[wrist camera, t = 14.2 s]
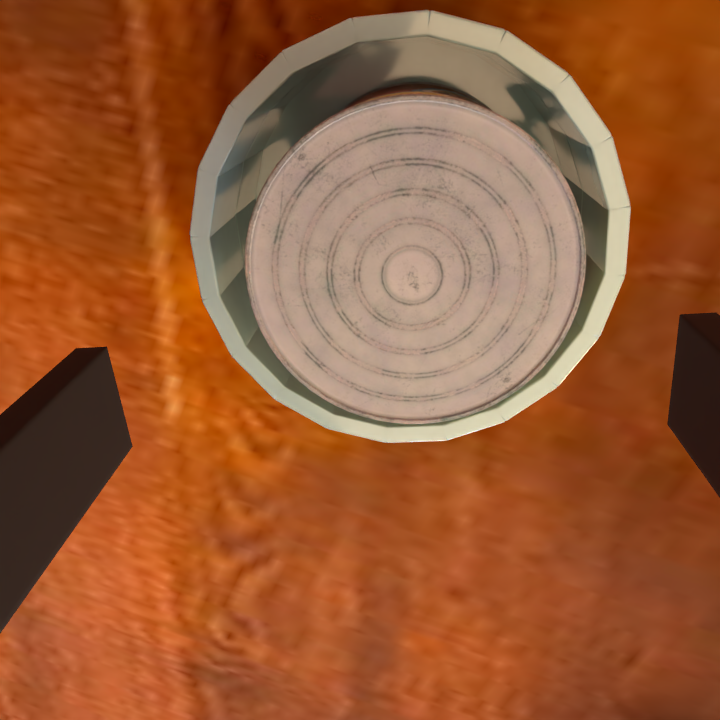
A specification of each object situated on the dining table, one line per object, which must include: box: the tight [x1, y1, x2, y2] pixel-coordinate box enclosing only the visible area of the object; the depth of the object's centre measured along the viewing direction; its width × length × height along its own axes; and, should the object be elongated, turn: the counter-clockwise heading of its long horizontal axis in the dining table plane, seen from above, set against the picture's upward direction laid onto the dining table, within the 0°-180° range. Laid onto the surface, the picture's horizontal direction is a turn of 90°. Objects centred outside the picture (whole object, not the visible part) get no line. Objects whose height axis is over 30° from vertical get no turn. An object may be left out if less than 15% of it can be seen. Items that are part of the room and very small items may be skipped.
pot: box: [190, 10, 631, 443], centre depth 30 cm, size 17×17×9 cm
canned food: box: [245, 81, 586, 424], centre depth 28 cm, size 11×11×12 cm
